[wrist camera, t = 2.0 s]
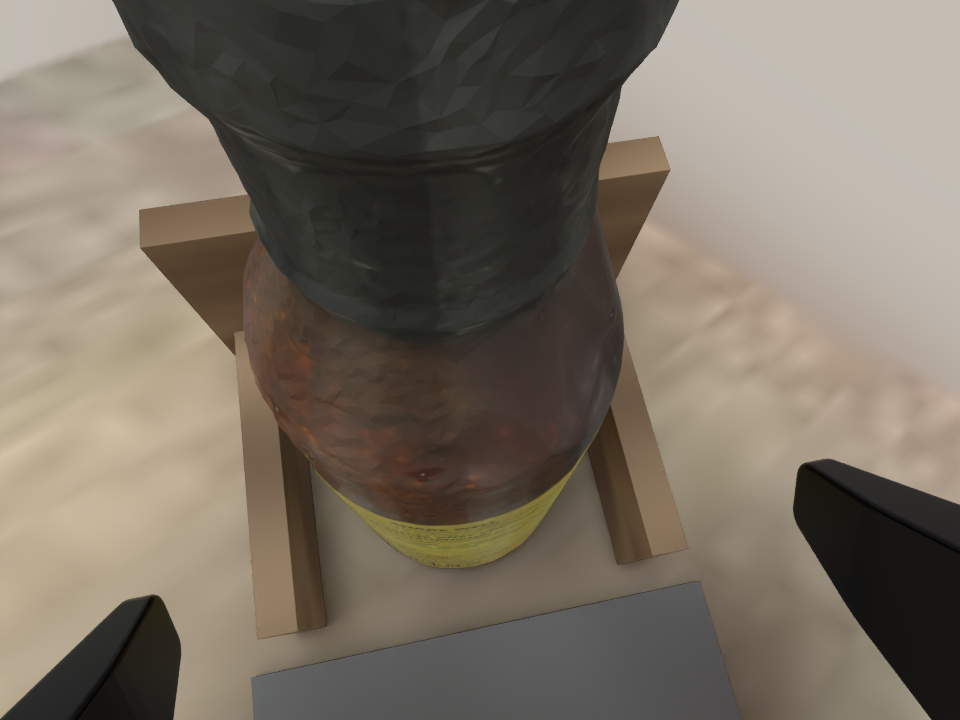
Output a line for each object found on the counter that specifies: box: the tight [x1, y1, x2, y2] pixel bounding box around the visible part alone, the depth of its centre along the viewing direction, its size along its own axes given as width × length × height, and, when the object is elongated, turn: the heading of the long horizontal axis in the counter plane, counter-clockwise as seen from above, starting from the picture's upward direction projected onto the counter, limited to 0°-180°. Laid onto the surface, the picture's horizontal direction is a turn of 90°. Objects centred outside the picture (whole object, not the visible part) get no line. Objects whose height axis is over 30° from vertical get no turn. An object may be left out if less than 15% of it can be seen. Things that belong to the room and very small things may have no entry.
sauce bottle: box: [112, 0, 679, 568], centre depth 13 cm, size 7×6×20 cm
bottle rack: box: [139, 136, 688, 640], centre depth 18 cm, size 10×12×9 cm
